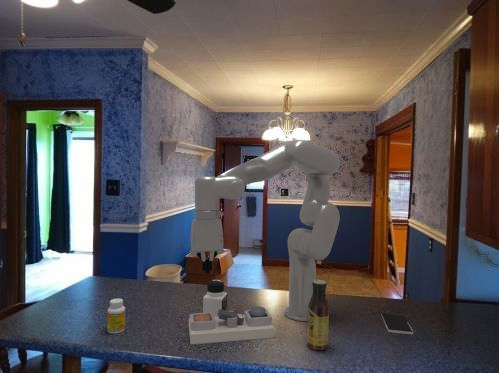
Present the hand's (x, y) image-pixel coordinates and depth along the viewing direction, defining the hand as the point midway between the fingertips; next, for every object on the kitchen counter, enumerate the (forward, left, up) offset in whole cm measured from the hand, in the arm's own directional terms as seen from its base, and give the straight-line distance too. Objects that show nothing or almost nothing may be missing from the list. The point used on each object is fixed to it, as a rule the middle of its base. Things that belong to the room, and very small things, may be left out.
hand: (207, 272), depth 114 cm
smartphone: (-66, +4, -20) cm, 69 cm away
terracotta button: (+1, +1, -17) cm, 17 cm away
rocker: (-8, +1, -14) cm, 16 cm away
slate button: (-17, +1, -15) cm, 22 cm away
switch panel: (-8, +1, -20) cm, 21 cm away
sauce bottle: (-32, +15, -20) cm, 40 cm away
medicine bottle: (-5, -15, -20) cm, 25 cm away
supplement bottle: (+28, -7, -20) cm, 35 cm away
